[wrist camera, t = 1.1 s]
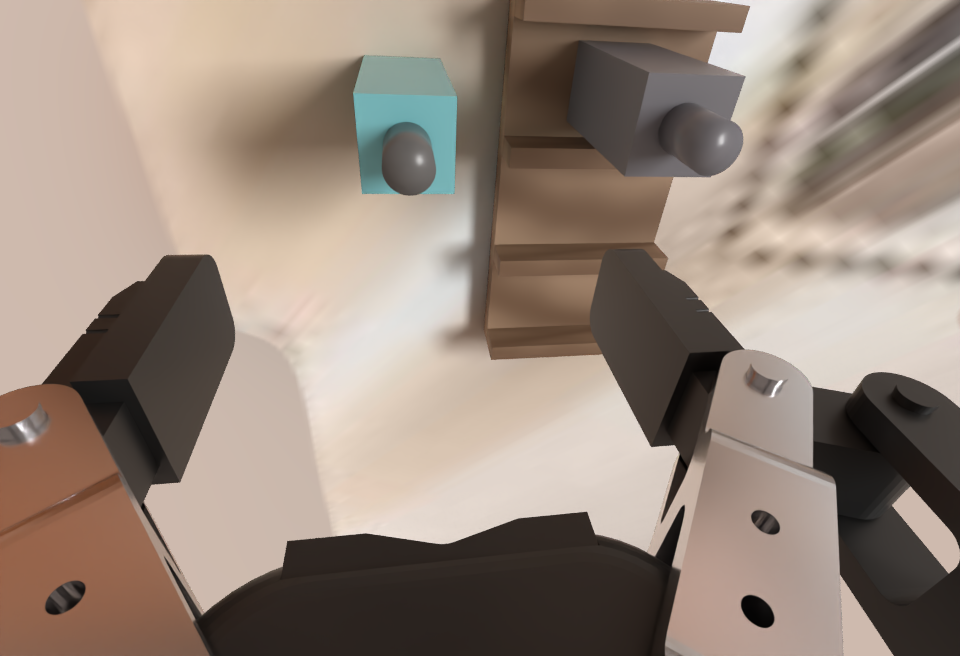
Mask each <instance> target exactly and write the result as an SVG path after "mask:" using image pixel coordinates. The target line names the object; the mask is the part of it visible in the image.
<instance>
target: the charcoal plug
mask: <svg viewBox="0 0 960 656" xmlns="http://www.w3.org/2000/svg"><path fill="white" fill-rule="evenodd" d="M745 77H746V76H743V75H740V74H737V73H734V72H731V71H729V70H726V69H723V68H720V67H717V66H714V65H711V64H708V63H706V62H703V61H700V60H697V59H694V58H691V57H688V56H685V55H683V54H680V53H677V52H674V51H671V50H668V49H665V48H662V47H660V46H657V45H654V44H651V43H631V42H611V41H591V40H579V43H578V50H577V56H576V63H575V69H574V75H573V82H572V88H571V95H570V101H569V108H568V114H567V120H566V121H567V122H568V123H569V124H570V125H571V126H572V127H574V128H575V129H576V130H577V131H578V132H579V133H580V134H581V135H582V136H583V137H584V138H585V139H586V140H587V141H588V142H589V143H590V144H591V145H592V146H593V147H594V148H595V149H596V150H597V151H599V152H600V153H601V154H602V155H603V156H604V157H605V158H606V159H607V160H608V161H609V162H610V163H611V164H612V165H613V166H614V167H615V168H616V169H617V170H618V171H619V172H620V173H621V174H622V175H624V176H625V177H711V176H713V175H716V174H719V173H721V172H723V171H724V170H726V169H727V168H728V167H729V166H731V165H732V164H733V162H734V161H735V160H736V158H737V157H738V155H739V153H740V151H741V149H742V145H743V133H742V130H741V128H740V127H739V126H738V125H737V124H736V123H734V122H732V121H730V120H731V117H732V114H733V111H734V108H735V106H736V103H737V100H738V97H739V94H740V91H741V88H742V85H743V82H744V79H745Z"/></svg>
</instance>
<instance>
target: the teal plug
mask: <svg viewBox="0 0 960 656" xmlns="http://www.w3.org/2000/svg"><path fill="white" fill-rule="evenodd" d="M353 97H354V108H355V120H356V131H357V142H358V153H359V165H360V176H361V187H362V194H403V195H417V194H454V190H455V154H456V118H457V95H456V93H455V91H454V88H453V86H452V84H451V82H450V79H449V77H448V75H447V73H446V71H445V68H444V66H443V64H442V62H441V59H439V58H415V57H392V56H368V55H364V57H363V60H362V64H361V67H360V71H359V74H358V78H357V81H356V85H355V88H354V92H353Z"/></svg>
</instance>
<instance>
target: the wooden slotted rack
mask: <svg viewBox="0 0 960 656" xmlns="http://www.w3.org/2000/svg"><path fill="white" fill-rule="evenodd" d="M749 8H750V6H745V5H739V4H732V3H725V2H718V1H711V0H510V6H509V19H508V31H507V44H506V57H505V69H504V82H503V95H502V107H501V120H500V133H499V145H498V158H497V171H496V183H495V196H494V209H493V221H492V234H491V247H490V259H489V272H488V284H487V297H486V310H485V322H484V332H485V336H486V340H487V344H488V349H489V353H490V357H491V360H496V359H517V358H537V357H558V356H578V355H599V354H602V352H601V350H600V348H599V346H598V344H597V342H596V341H595V339H594V337H593V334H592V331H591V327H590V309H591V304H592V300H593V296H594V292H595V287H596V283H597V279H598V275H599V270H600V266H601V262H602V258H603V256H604V254H605V252H606V251H607V250H609V249H644V250H645V251H646V252H647V253H648V254H649V255H650V257H651V258H652V259H653V260H654V261H655V262H656V264H657V265H658V266H659V267H660V268H661V269H662V270H664V269H665V266H666V263H667V260H668V258H667V256H666V255H665V254H664V253H663V252H662V251H661V250H660V249H659V248H658V246H657V245H656V244H655V243H654V240H655V237H656V233H657V230H658V227H659V223H660V220H661V217H662V213H663V210H664V207H665V203H666V200H667V197H668V193H669V190H670V187H671V183H672V180H673V177H625V176H624V175H622V174H621V173H620V172H619V171H618V170H617V169H616V168H615V167H614V166H613V165H612V164H611V163H610V162H609V161H608V160H607V159H606V158H605V157H604V156H603V155H602V154H601V153H600V152H599V151H597V150H596V149H595V148H594V147H593V146H592V145H591V144H590V143H589V142H588V141H587V140H586V139H585V138H584V137H583V136H582V135H581V134H580V133H579V132H578V131H577V130H576V129H575V128H574V127H572V126H571V125H570V124H569V123H568V122H567V121H566V120H567V114H568V108H569V101H570V95H571V88H572V82H573V75H574V69H575V63H576V56H577V50H578V43H579V40H591V41H611V42H631V43H651V44H654V45H657V46H660V47H662V48H665V49H668V50H671V51H674V52H677V53H680V54H683V55H685V56H688V57H691V58H694V59H697V60H700V61H703V62H706V63H708V59H709V56H710V53H711V49H712V46H713V43H714V39H715V36H716V33H717V32H735V33H742V30H743V26H744V23H745V20H746V17H747V14H748V11H749Z"/></svg>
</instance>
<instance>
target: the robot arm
mask: <svg viewBox="0 0 960 656" xmlns="http://www.w3.org/2000/svg"><path fill="white" fill-rule="evenodd" d="M98 316H99V317H98V319H94V321H93V322H92V323H91V324H90V326H89V327H88V328H87V329H86V334H82V335H81V337H80V338H79V339H78V340H77V342H76V343H75V344H74V345H73V347H72V348H71V349H70V350H69V351H68V353H67V354H66V355H65V356H64V358H63V359H62V360H61V361H60V362H59V364H58V365H57V366H56V367H55V369H54V370H53V371H52V372H51V374H50V375H49V376H48V377H47V379H46V380H45V381H44V382H43V383H42V385H35V386H29V387H25V388H21V389H17V390H14V391H11V392H8V393H6V394H3V395H1V396H0V656H843V637H842V612H841V590H840V575H841V577H842V578H843V580H844V581H845V582H846V584H847V586H848V587H849V588H850V590H851V592H852V593H853V594H854V596H855V598H856V599H857V601H858V602H859V604H860V605H861V607H862V608H863V610H864V611H865V613H866V614H867V616H868V617H869V619H870V620H871V622H872V623H873V625H874V626H875V628H876V629H877V631H878V632H879V634H880V636H881V637H882V639H883V640H884V642H885V643H886V645H887V646H888V648H889V649H890V651H891V652H892V654H893V655H894V656H960V561H959V564H958V566H957V567H956V568H955V569H954V570H953V571H952V572H950V573H949V574H948V573H947V571H946V570H945V569H944V568H943V566H942V565H941V564H940V563H939V562H938V561H937V559H936V558H935V557H934V556H933V554H932V553H931V552H930V551H929V550H928V548H927V547H926V546H925V545H924V544H923V542H922V541H921V540H920V539H919V538H918V536H917V535H916V534H915V533H914V532H913V531H912V529H911V528H910V527H909V526H908V525H907V523H906V522H905V521H904V520H903V519H902V517H901V516H900V515H899V514H898V513H897V511H896V510H895V509H894V508H893V507H892V504H893V503H894V502H895V501H896V500H897V499H898V498H899V497H900V496H901V495H902V494H903V493H904V492H905V491H906V490H907V489H908V488H909V487H910V486H911V487H912V488H913V490H914V491H915V492H916V493H917V494H918V495H919V496H920V497H921V498H922V500H923V501H924V502H925V503H926V504H927V505H928V506H929V507H930V508H931V510H932V511H933V512H934V513H935V514H936V515H937V516H938V517H939V518H940V519H941V521H942V522H943V523H944V524H945V525H946V526H947V527H948V528H949V530H950V531H951V532H952V533H953V535H954V536H955V538H956V540H957V542H958V545H959V549H960V408H959V407H958V406H957V405H956V404H954V403H953V402H952V401H951V400H950V399H948V398H947V397H946V396H944V395H943V394H941V393H940V392H938V391H937V390H935V389H933V388H931V387H930V386H928V385H926V384H924V383H921V382H919V381H917V380H914V379H912V378H909V377H906V376H902V375H898V374H893V373H886V372H877V373H871V374H869V375H867V376H865V377H864V378H863V380H862V381H861V383H860V384H859V385H858V387H857V388H856V390H855V391H854V392H853V394H851V393H845V392H839V391H834V390H828V389H822V388H816V387H812V386H811V383H810V382H809V380H808V379H807V377H806V376H805V375H804V374H803V373H802V372H801V371H800V370H798V369H797V368H796V367H794V366H793V365H792V364H790V363H788V362H787V361H785V360H783V359H781V358H779V357H776V356H774V355H771V354H768V353H765V352H761V351H756V350H745V349H744V348H743V347H742V346H741V345H740V344H739V342H738V341H737V340H736V339H735V338H734V337H733V336H732V335H731V333H730V332H729V331H728V330H727V329H726V328H725V327H724V326H723V324H722V323H721V322H720V321H719V320H718V319H717V318H716V317H715V315H714V314H713V313H712V312H709V309H708V308H707V306H706V305H705V304H704V303H703V302H702V301H701V300H698V296H697V295H696V294H695V293H694V292H693V291H692V289H691V288H690V287H689V286H688V285H687V284H686V283H685V282H684V281H682V280H680V279H679V278H677V277H675V276H674V275H672V274H671V273H669V272H667V271H666V270H662V269H661V268H660V267H659V266H658V265H657V264H656V262H655V261H654V260H653V259H652V258H651V257H650V255H649V254H648V253H647V252H646V251H645V250H644V249H609V250H607V251H606V252H605V254H604V256H603V258H602V262H601V266H600V270H599V275H598V279H597V283H596V287H595V292H594V296H593V300H592V304H591V309H590V327H591V331H592V334H593V337H594V339H595V341H596V342H597V344H598V346H599V348H600V350H601V352H602V354H603V356H604V358H605V360H606V362H607V363H608V365H609V367H610V369H611V371H612V373H613V375H614V377H615V379H616V381H617V383H618V385H619V386H620V388H621V390H622V392H623V394H624V396H625V398H626V400H627V402H628V404H629V406H630V407H631V409H632V411H633V413H634V415H635V417H636V419H637V421H638V423H639V425H640V427H641V428H642V430H643V432H644V434H645V436H646V438H647V440H648V442H649V444H650V446H651V447H657V446H669V445H675V446H676V448H677V450H678V451H679V454H678V456H677V458H676V460H675V463H674V465H673V469H672V472H671V475H670V479H669V482H668V486H667V489H666V493H665V496H664V499H663V503H662V506H661V510H660V513H659V517H658V520H657V523H656V527H655V530H654V534H653V537H652V540H651V543H650V546H649V548H648V551H647V552H645V551H643V550H641V549H639V548H637V547H635V546H632V545H630V544H627V543H625V542H622V541H620V540H616V539H612V538H609V537H605V536H601V535H595V533H594V530H593V528H592V525H591V522H590V519H589V516H588V513H587V512H580V513H570V514H560V515H550V516H540V517H529V518H519V519H516V520H513V521H510V522H508V523H505V524H502V525H499V526H497V527H494V528H491V529H489V530H486V531H483V532H480V533H478V534H475V535H472V536H469V537H467V538H464V539H461V540H459V541H456V542H453V543H449V544H434V543H427V542H420V541H414V540H407V539H400V538H393V537H386V536H380V535H373V534H356V535H346V536H335V537H326V538H315V539H306V540H295V541H287V547H286V553H285V557H284V563H283V567H281V568H278V569H276V570H273V571H270V572H268V573H266V574H264V575H262V576H260V577H258V578H256V579H254V580H251V581H250V582H248V583H246V584H245V585H243V586H241V587H240V588H238V589H236V590H235V591H233V592H231V593H230V594H229V595H227V596H226V597H225V598H223V599H222V600H221V601H219V602H218V603H217V604H215V605H214V606H212V607H211V608H210V609H209V610H208V611H207V612H206V613H204V611H203V609H202V608H201V606H200V604H199V602H198V601H197V599H196V597H195V595H194V594H193V592H192V590H191V588H190V586H189V585H188V583H187V581H186V579H185V577H184V575H183V573H182V571H181V569H180V568H179V566H178V564H177V562H176V560H175V558H174V556H173V554H172V553H171V551H170V549H169V547H168V545H167V543H166V541H165V539H164V537H163V536H162V534H161V532H160V530H159V528H158V526H157V524H156V522H155V521H154V519H153V517H152V515H151V513H150V511H149V509H148V508H147V506H146V505H145V503H144V499H145V497H146V495H147V493H148V490H149V488H150V486H151V485H152V484H166V483H178V482H180V481H181V479H182V476H183V474H184V471H185V469H186V466H187V464H188V461H189V459H190V456H191V454H192V451H193V449H194V446H195V444H196V441H197V438H198V436H199V434H200V431H201V429H202V426H203V423H204V421H205V419H206V416H207V414H208V411H209V409H210V406H211V404H212V401H213V399H214V396H215V394H216V391H217V389H218V386H219V384H220V381H221V379H222V376H223V374H224V371H225V368H226V366H227V364H228V361H229V359H230V356H231V353H232V351H233V348H234V342H235V327H234V321H233V317H232V314H231V311H230V308H229V304H228V301H227V298H226V294H225V291H224V288H223V284H222V281H221V278H220V274H219V271H218V268H217V265H216V263H215V261H214V259H213V258H212V256H210V255H166V256H164V257H163V258H162V259H161V260H160V262H159V263H158V264H157V266H156V267H155V269H154V270H153V271H152V272H151V274H150V275H149V276H148V278H147V279H146V281H137V282H135V283H134V284H132V285H131V286H129V287H128V288H126V289H124V290H123V291H121V292H120V293H118V294H117V295H115V296H114V297H112V299H111V300H110V301H109V302H108V303H107V305H106V306H105V307H104V308H103V310H102V311H101V312H100V313H99V314H98Z"/></svg>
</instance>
